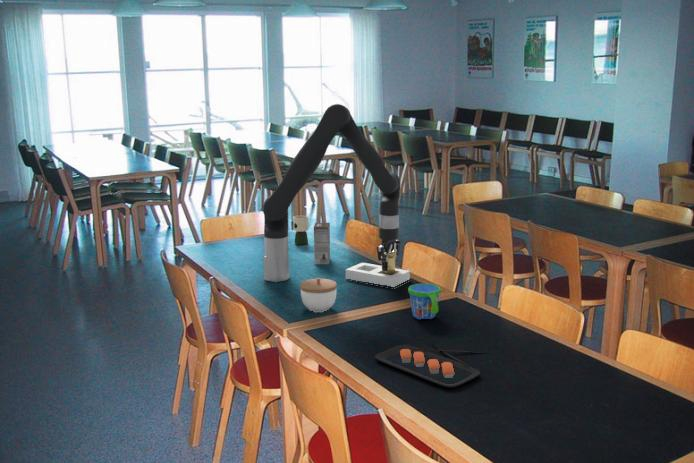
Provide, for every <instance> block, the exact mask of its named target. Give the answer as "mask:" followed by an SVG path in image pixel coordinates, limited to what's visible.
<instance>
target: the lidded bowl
mask: <svg viewBox="0 0 694 463" xmlns="http://www.w3.org/2000/svg"><path fill="white" fill-rule="evenodd" d="M337 287H338V284H337V282H336V281H334V280H332V279H328V278H320V277H317V278H311V279H310V278H309V279H306V280H303V281H302V282H300V284H299V288H300V298H301V301H302V303H303V305H304V306H305V307H306V308H307V309H308V311H309V310H310V312H311V311H313V312H312V313H318V312H319V313H325V312H324V311H326V312H328V311H329V310H330V308H332V306H333V305H334V304H335V302H336V299H337V292H338V289H337ZM327 310H328V311H327Z"/></svg>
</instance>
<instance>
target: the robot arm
mask: <svg viewBox="0 0 694 463" xmlns="http://www.w3.org/2000/svg"><path fill="white" fill-rule="evenodd" d="M338 133H339V134H340V135H342V137H344V138H345V140H346V141H347V142H348V144H349V145H350V147H351V148H352V150H353V151H354V153H355V155H356V157H357V158H358V160H359V161H360V163H361V164H362V165H363V166H364V168H365V169H366V170H367V172H369V174H370V177H371V178H372V180H373V181H374V184H375V185H376V187H377V188H378V190H380V192H381V193H382V197H381V200H380V203H379V218H378V237H379V239H380V240H381V244H380V245H377V247H376V252H377V259H378V261H380V262H381V266H382V270H383V271H388V262H387V261H388V256H389V254H390V252H392V251H393V252H396V256H395V259H396V258H397V257H398V256H399V254H400V249H401V240H399V237H400V234H399V233H400V217H399V199H400V193H401V180H400V177H399V175H398V174H397V173H395V172H389V170H388V168H387V167H386V162H385V161H384V159H383V158H382V156H381V155H380V153H379V152H378V151H377V150H376V149H375V148H374V146H373V145H372V143H370V141H369V140H368V139H367V137H366V136H365V135H364V134H363V132H362V131H361V129H360V128H359V126H358V125H357V124H356V121H355V120H354V117H353V116H352V114H351V111H350V109H349V108H347V107H346V106H345V105H343V104H340V103H333V104H331V105H329V106H328V107H327V108H326V110H325V111H324V113H323V115H322V117H321V118H320V121H319V122H318V124H317V126H316V128H315V129H314V131H313V133H312V134H311V135H310V137H309V138H308V139H307V140H306V141H305V143H303V145H302V147H300V149H299V150H298V152H297V154H296V155H295V157H294V158H293V160H292V161H291V162H290V164H289V166H288V168H287V170H286V171H285V174H284V175H283V178H282V180H281V182H280V184H279V185H278V186H277V187H276V189H275V190H274V192H273V193H272V194H270V195H268V197H267V198H266V199H265V201H264V203H263V204H262V213H263V216H264V227H263V228H264V229H263V233H264V234H263V235H264V236H263V237H264V239H263V241H264V256H263V257H262V258H263V280H264V281H268V282H273V283H278V282H285V281H287V280H289V279H290V262H289V208H290V207H291V205H292V203H293V201H294V199H295V198H296V196H297V195H298V193H299V192H300V191H301V190H302V189H303V187H304V186H305V185H306V184H307V183H308V181H309V180H310V178H311V177H312V176H313V175H314V174H315V172H316V171H317V169H318V168H319V166H320V165H321V163H322V161H323V159H324V157H325V155H326V152H327V150H328V147H329V146H330V144H331V142H332V141H333V139H334V138H335V137H336V136H337V135H338ZM385 252H386V253H385ZM385 255H386V258H385Z"/></svg>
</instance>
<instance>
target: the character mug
mask: <svg viewBox="0 0 694 463" xmlns="http://www.w3.org/2000/svg"><path fill="white" fill-rule="evenodd" d="M292 218H293V220H292V222H293V231H294V232H295V233H294V234H295V236H294V244H295V245H305V244H308V243H309V238H308V231H309V227H310V226H309V216H307V215H294V216H293V217H292Z"/></svg>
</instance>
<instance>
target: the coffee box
mask: <svg viewBox="0 0 694 463" xmlns="http://www.w3.org/2000/svg"><path fill="white" fill-rule="evenodd" d="M330 224H331V223H330V222H315V223H314V226H313V245H314V246H313V247H314V248H313V249H314V250H313V254H314V265H329V264H330V261H331V241H330V240H331V236H330V235H331V234H330V230H331V229H330V228H331V226H330Z"/></svg>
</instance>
